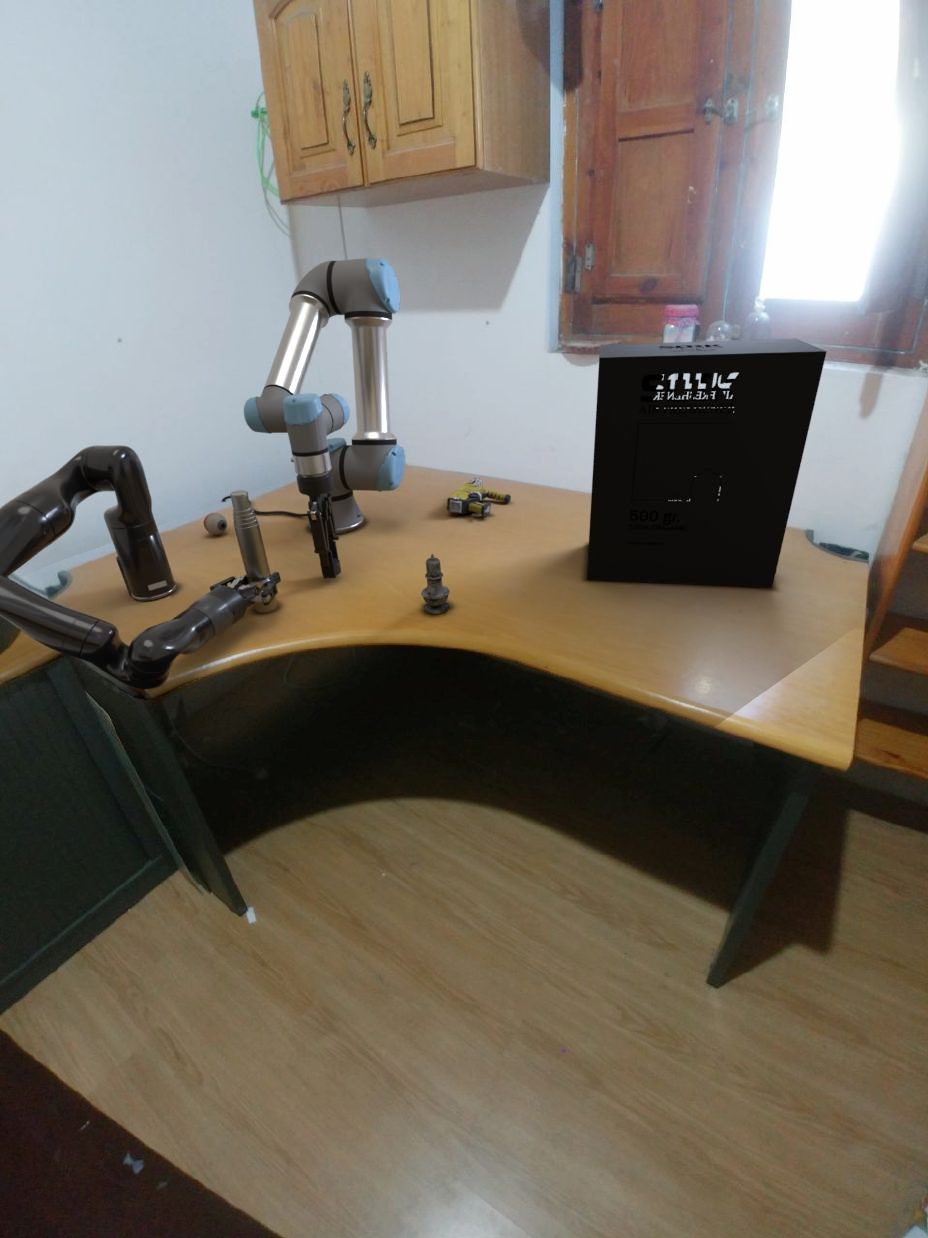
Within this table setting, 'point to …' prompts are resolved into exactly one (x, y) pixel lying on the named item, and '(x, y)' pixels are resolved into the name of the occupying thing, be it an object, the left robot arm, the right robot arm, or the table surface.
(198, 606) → the left robot arm
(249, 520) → the bottle
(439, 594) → the grey metal turned piece
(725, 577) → the cardboard box
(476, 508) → the toy gun
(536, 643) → the table surface
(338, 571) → the cap
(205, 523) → the eyeball
